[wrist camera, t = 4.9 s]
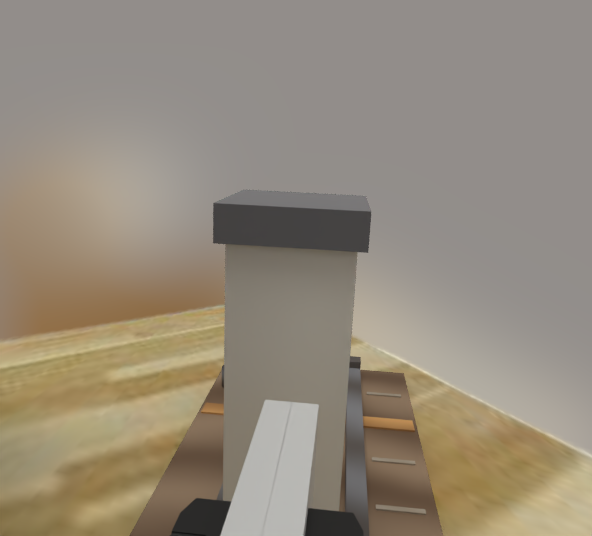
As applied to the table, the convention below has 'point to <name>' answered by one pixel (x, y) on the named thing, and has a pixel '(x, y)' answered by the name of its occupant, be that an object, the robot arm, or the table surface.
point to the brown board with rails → (355, 466)
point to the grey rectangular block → (289, 317)
